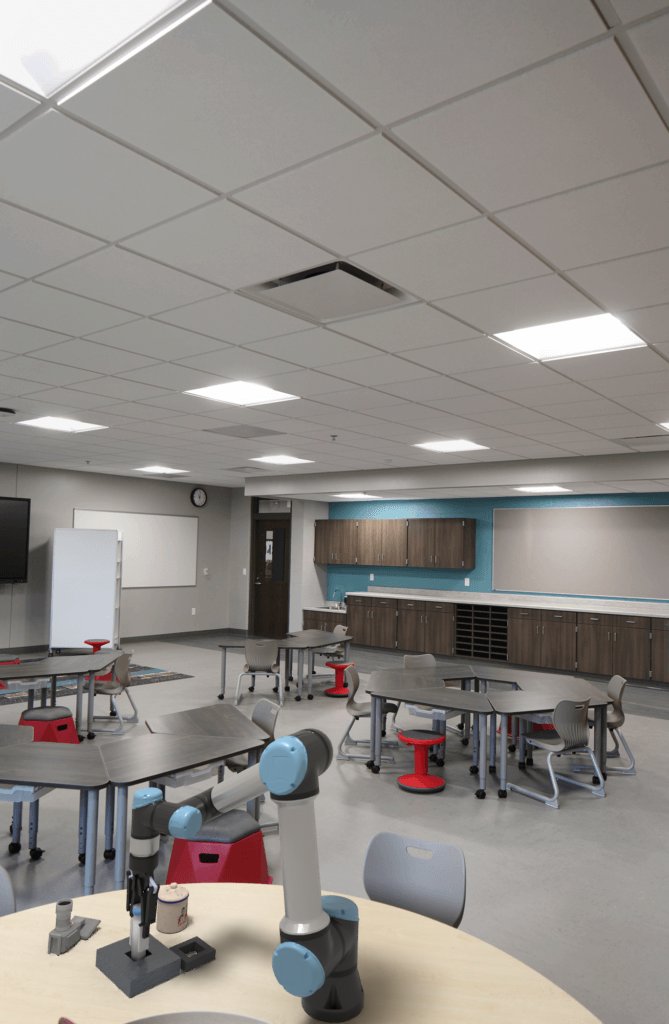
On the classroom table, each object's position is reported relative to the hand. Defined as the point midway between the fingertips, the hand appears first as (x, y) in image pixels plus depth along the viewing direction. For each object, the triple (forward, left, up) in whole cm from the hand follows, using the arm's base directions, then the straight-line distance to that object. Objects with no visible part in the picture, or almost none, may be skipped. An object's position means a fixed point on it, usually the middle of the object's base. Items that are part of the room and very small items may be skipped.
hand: (138, 946), depth 168 cm
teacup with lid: (+14, -19, -6) cm, 24 cm away
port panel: (0, 0, -6) cm, 6 cm away
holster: (-5, -13, -6) cm, 15 cm away
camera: (+25, +6, -6) cm, 27 cm away
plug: (0, 0, -4) cm, 4 cm away
